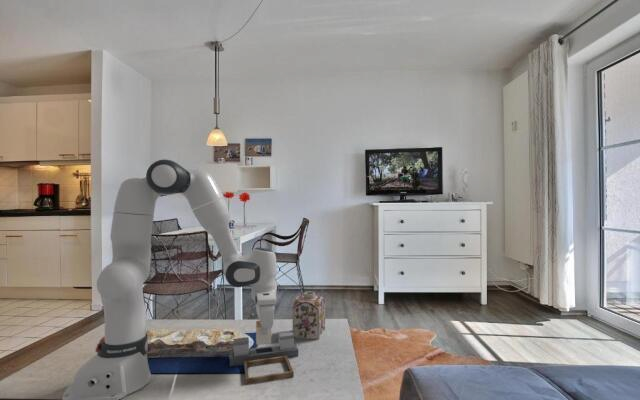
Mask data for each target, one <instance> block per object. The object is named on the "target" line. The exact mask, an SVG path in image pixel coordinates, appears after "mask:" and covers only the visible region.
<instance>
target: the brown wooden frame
mask: <svg viewBox="0 0 640 400" xmlns="http://www.w3.org/2000/svg"><path fill="white" fill-rule="evenodd" d="M283 362H285V363H284V364H285V365H286V368H287V371H284V372H276V373H270V374H263V375H260V376H259V375H258V376H257V375H256V376H251V377H250V376H249V371H248V370H249V369H248V367H256V366H264V365H270V364H276V363H283ZM243 370H244V375H245V384H246V385H253V384H259V383H265V382H272V381H277V380H283V379H289V378H294V377H295V375H294V373H295V372H294V370H293V367H292V365H291V362H290V361H289V358H287V356H280V357H273V358H266V359H259V360H252V361H245V362H244V364H243Z"/></svg>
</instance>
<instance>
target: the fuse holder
mask: <svg viewBox="0 0 640 400" xmlns="http://www.w3.org/2000/svg"><path fill="white" fill-rule="evenodd" d="M280 356H287V358H288V359H291V358H298V357H299V348H298V346H297V344H296V342H294V349H288V350H279V344H276V345H269V346H260V347H252V348H249V355H243V356H235V357H234V350H230V351H229V367H233V366H234V367H235V366H240V365H244V362H245V361H252V360H259V359H266V358H273V357H280Z"/></svg>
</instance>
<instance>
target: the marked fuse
mask: <svg viewBox="0 0 640 400" xmlns="http://www.w3.org/2000/svg"><path fill="white" fill-rule="evenodd" d="M255 343H256V345H257V346H259V345H268V344H272V328H268V329H267V335H262V327H261V324H260V321H259V320H257V321H256V322H255Z"/></svg>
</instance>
